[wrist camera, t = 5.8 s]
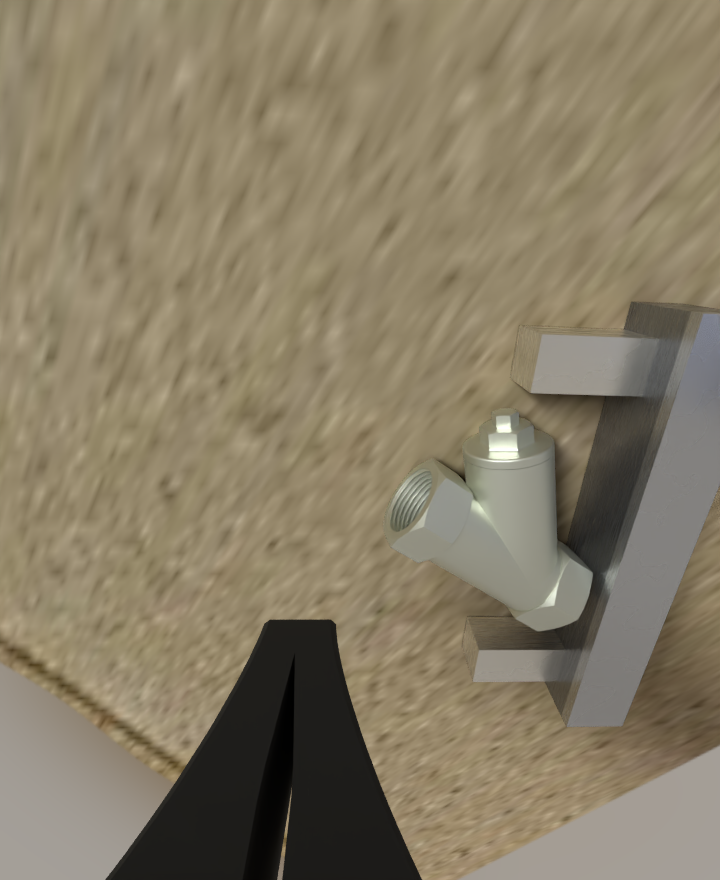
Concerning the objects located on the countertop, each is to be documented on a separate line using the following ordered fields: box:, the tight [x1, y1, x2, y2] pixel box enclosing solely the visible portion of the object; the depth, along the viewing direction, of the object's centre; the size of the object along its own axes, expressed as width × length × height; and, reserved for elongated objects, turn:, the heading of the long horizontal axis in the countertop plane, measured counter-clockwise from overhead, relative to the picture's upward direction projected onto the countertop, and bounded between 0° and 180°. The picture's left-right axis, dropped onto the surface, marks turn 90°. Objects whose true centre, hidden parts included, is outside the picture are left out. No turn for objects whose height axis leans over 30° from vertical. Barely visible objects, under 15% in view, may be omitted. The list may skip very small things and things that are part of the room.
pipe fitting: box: [383, 408, 593, 631], centre depth 18 cm, size 8×4×7 cm
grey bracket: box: [462, 302, 720, 727], centre depth 18 cm, size 7×18×4 cm, turn 177°
